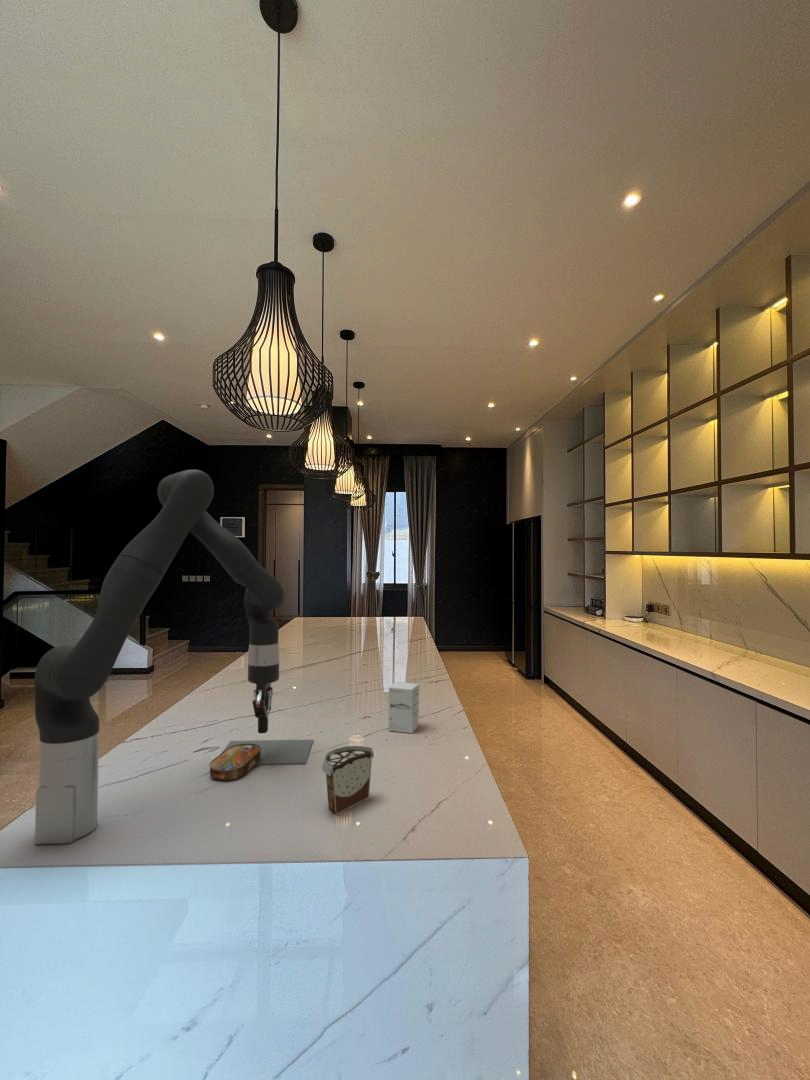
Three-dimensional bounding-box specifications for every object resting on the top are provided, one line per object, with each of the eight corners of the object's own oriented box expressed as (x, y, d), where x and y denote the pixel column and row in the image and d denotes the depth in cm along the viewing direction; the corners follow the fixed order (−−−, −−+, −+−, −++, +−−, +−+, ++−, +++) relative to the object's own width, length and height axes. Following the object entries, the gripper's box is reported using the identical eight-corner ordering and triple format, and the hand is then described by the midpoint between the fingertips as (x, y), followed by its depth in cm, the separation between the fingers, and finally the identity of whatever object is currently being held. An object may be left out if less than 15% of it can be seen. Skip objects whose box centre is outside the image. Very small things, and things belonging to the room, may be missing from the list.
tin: (236, 771, 116) (201, 765, 118) (235, 786, 117) (200, 779, 118) (267, 744, 131) (236, 739, 133) (266, 757, 131) (235, 751, 133)
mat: (305, 764, 127) (305, 762, 127) (212, 765, 126) (212, 764, 126) (313, 740, 143) (313, 739, 143) (230, 742, 142) (230, 740, 142)
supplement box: (387, 731, 151) (387, 687, 152) (395, 723, 158) (395, 681, 159) (412, 734, 149) (412, 688, 149) (419, 726, 156) (419, 682, 156)
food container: (352, 787, 115) (353, 740, 115) (373, 795, 111) (374, 747, 111) (308, 808, 105) (309, 757, 105) (330, 818, 101) (330, 765, 101)
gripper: (273, 667, 125) (273, 741, 124) (283, 656, 138) (283, 723, 138) (241, 667, 125) (240, 741, 124) (254, 656, 138) (253, 724, 137)
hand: (263, 732), depth 131 cm, fingers closed
